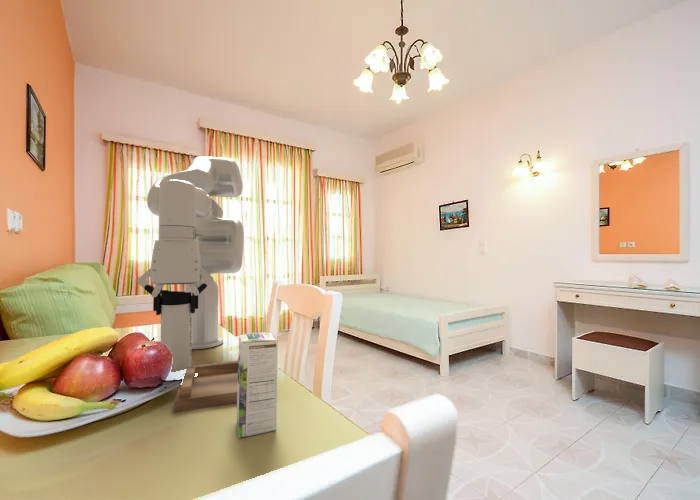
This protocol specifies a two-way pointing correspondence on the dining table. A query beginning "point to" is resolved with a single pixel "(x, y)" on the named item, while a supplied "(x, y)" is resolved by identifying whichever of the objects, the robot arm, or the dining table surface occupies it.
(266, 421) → the syrup box
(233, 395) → the stand
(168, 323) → the travel mug
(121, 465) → the dining table surface
